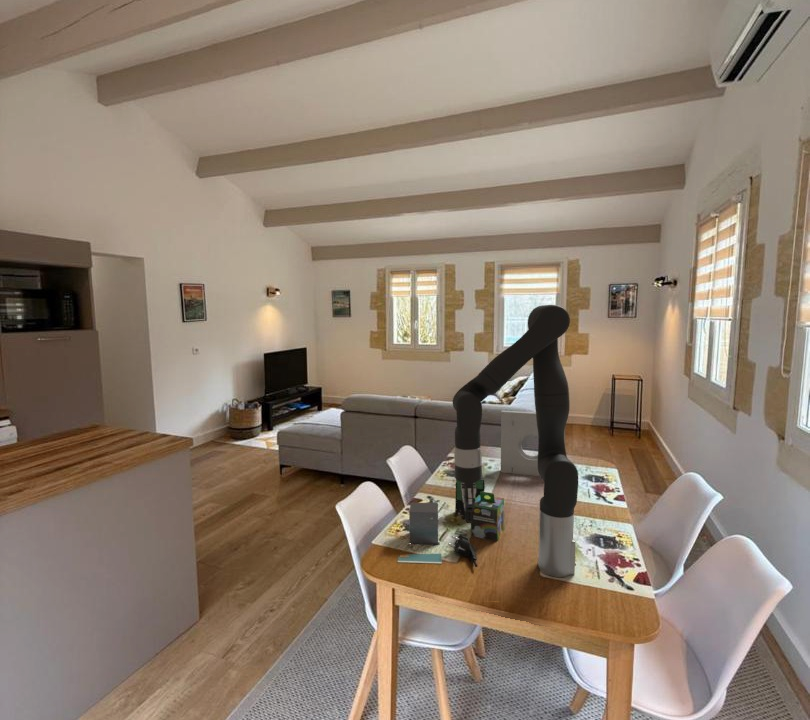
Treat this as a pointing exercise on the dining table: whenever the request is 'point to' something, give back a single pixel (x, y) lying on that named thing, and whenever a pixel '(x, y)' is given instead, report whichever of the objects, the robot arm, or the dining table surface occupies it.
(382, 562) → the dining table surface
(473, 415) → the robot arm
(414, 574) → the dining table surface
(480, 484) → the disk drive
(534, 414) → the mounting panel
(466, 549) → the power plug
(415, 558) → the mat
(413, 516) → the unit
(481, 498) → the chalk box
